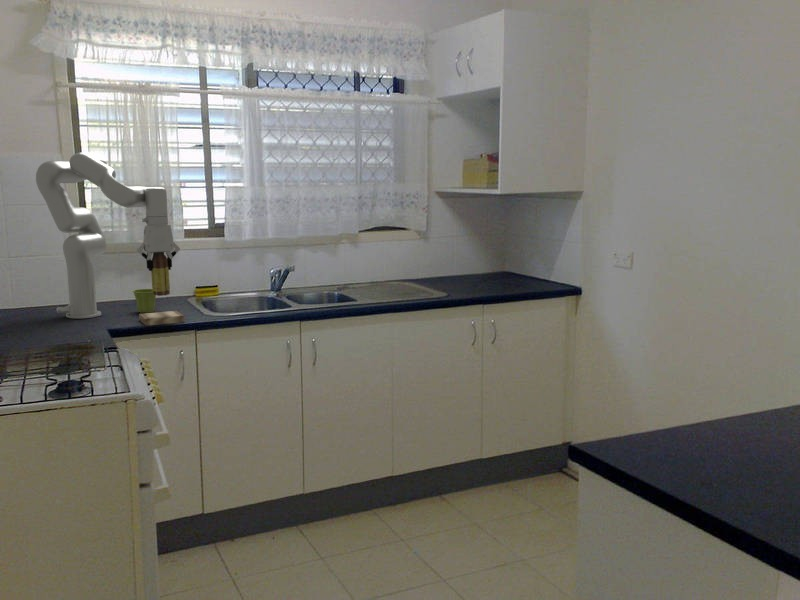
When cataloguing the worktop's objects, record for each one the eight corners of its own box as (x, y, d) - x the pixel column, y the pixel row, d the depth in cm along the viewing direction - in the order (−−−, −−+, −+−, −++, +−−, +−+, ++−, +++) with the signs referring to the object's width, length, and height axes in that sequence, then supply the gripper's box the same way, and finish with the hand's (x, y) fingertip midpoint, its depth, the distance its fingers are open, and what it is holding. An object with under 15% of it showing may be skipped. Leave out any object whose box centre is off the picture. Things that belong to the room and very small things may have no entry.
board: (145, 325, 271) (145, 318, 271) (139, 320, 281) (139, 313, 280) (184, 322, 278) (184, 315, 278) (177, 317, 288) (176, 310, 287)
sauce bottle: (163, 293, 282) (162, 240, 279) (173, 294, 278) (171, 241, 275) (148, 294, 277) (146, 241, 274) (158, 296, 273) (156, 242, 270)
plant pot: (147, 308, 305) (146, 287, 303) (163, 311, 300) (162, 289, 298) (128, 312, 297) (127, 290, 295) (145, 314, 292) (143, 293, 290)
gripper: (134, 222, 266) (137, 272, 269) (183, 221, 274) (185, 269, 277) (130, 221, 272) (133, 270, 275) (178, 220, 281) (180, 267, 284)
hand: (159, 269), depth 276 cm, fingers closed on sauce bottle, 6 cm apart
